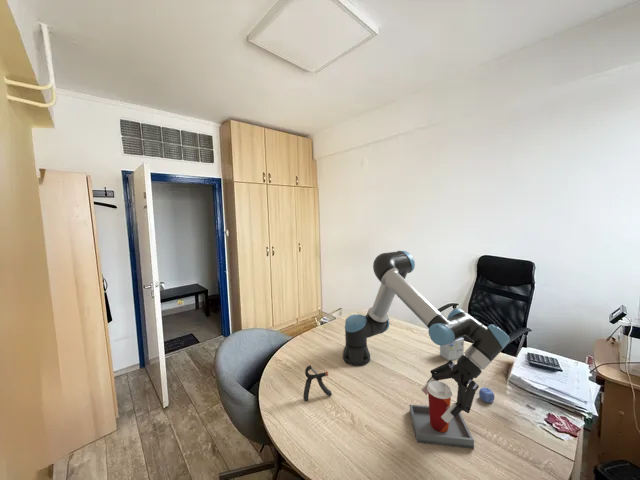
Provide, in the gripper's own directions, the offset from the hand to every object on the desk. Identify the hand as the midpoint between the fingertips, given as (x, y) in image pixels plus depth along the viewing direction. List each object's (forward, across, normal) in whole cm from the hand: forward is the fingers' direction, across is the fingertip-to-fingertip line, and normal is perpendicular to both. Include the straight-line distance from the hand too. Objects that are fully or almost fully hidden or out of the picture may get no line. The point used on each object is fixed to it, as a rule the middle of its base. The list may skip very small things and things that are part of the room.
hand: (433, 405), depth 91 cm
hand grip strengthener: (+36, +22, +22) cm, 47 cm away
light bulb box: (-18, +44, -32) cm, 57 cm away
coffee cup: (+4, 0, -8) cm, 9 cm away
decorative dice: (-14, +11, -28) cm, 33 cm away
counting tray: (+5, 0, -8) cm, 10 cm away
